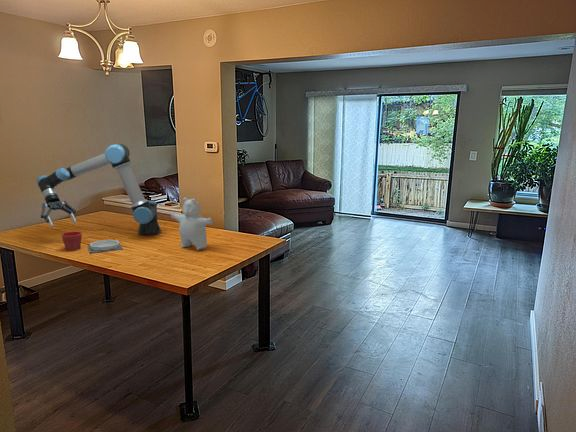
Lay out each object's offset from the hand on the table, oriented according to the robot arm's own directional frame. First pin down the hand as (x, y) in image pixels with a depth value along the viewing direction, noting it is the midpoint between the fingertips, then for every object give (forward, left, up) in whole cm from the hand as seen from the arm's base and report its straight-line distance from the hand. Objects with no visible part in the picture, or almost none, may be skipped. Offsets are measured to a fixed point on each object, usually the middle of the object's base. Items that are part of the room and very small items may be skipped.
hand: (63, 224), depth 245 cm
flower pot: (-4, +9, -14) cm, 17 cm away
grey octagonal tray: (-21, +15, -14) cm, 29 cm away
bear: (-68, +40, -14) cm, 80 cm away
